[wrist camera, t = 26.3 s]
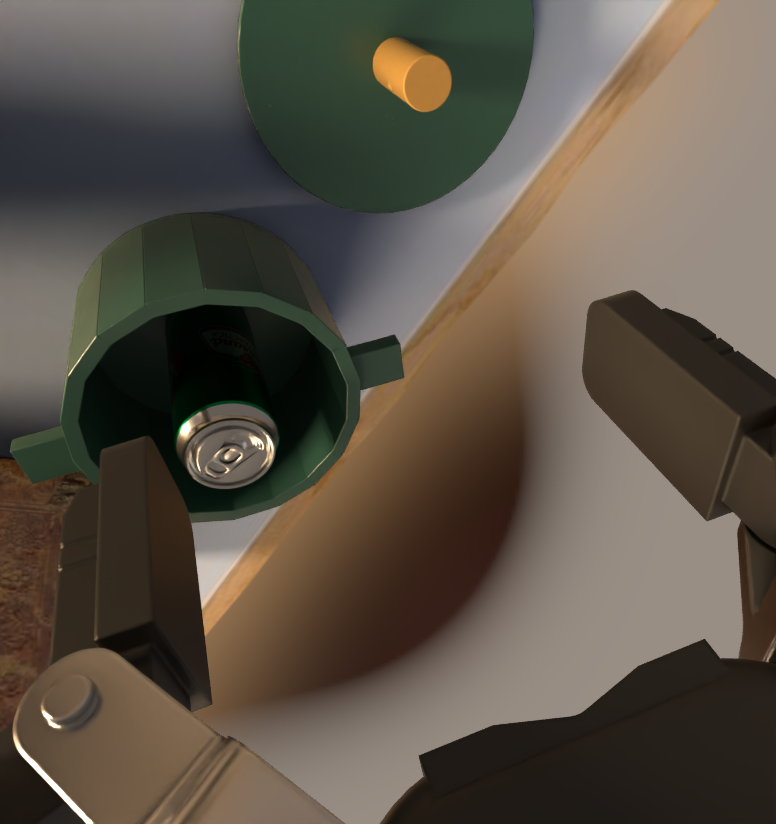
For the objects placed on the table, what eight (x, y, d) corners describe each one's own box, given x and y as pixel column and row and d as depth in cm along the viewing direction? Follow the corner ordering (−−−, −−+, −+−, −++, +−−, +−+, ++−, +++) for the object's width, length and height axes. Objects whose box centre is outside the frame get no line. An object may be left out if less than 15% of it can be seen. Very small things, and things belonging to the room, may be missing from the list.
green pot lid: (192, -110, 27) (204, -112, 23) (528, -161, 30) (600, -173, 25) (276, 233, 38) (296, 280, 33) (520, 174, 40) (571, 209, 36)
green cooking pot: (-27, 260, 34) (-69, 356, 26) (341, 175, 37) (391, 241, 30) (90, 458, 43) (83, 567, 36) (374, 377, 46) (417, 463, 39)
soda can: (266, 325, 41) (304, 445, 32) (213, 378, 42) (236, 508, 33) (202, 278, 37) (224, 396, 28) (147, 336, 39) (152, 468, 30)
